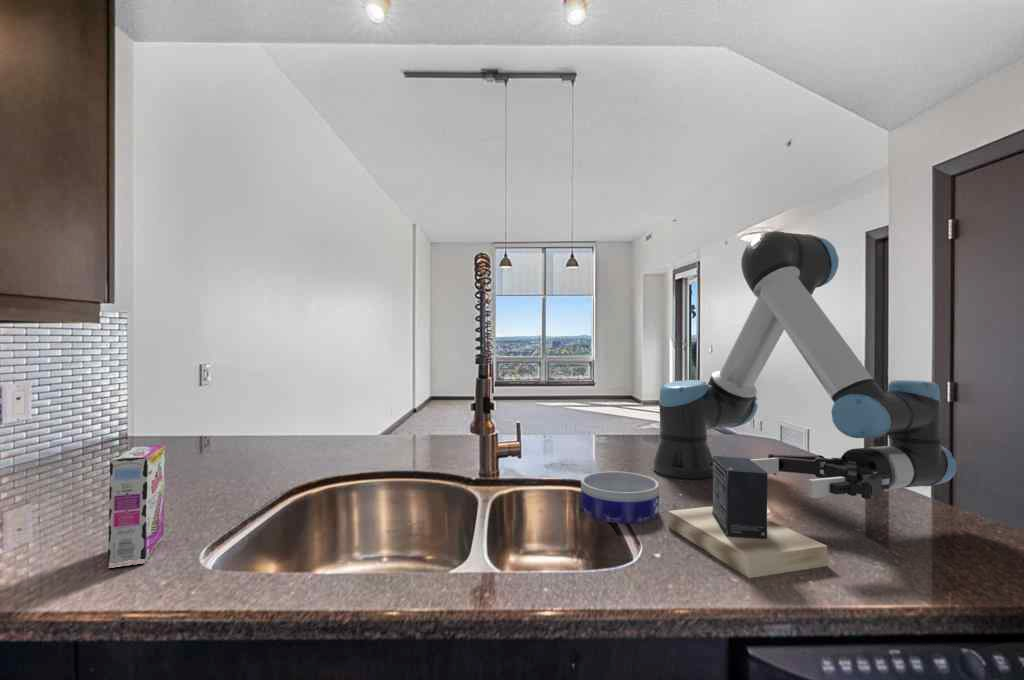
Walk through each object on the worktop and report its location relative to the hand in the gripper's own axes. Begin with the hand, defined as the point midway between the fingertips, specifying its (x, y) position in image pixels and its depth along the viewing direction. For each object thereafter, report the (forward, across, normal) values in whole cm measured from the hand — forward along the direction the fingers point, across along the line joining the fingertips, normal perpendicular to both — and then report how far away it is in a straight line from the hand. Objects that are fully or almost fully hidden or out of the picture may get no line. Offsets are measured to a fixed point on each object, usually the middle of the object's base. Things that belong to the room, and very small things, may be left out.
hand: (776, 477), depth 83 cm
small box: (+7, 0, -8) cm, 11 cm away
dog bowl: (+19, +21, -11) cm, 30 cm away
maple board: (+7, 0, -11) cm, 13 cm away
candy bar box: (+103, +22, -11) cm, 106 cm away
